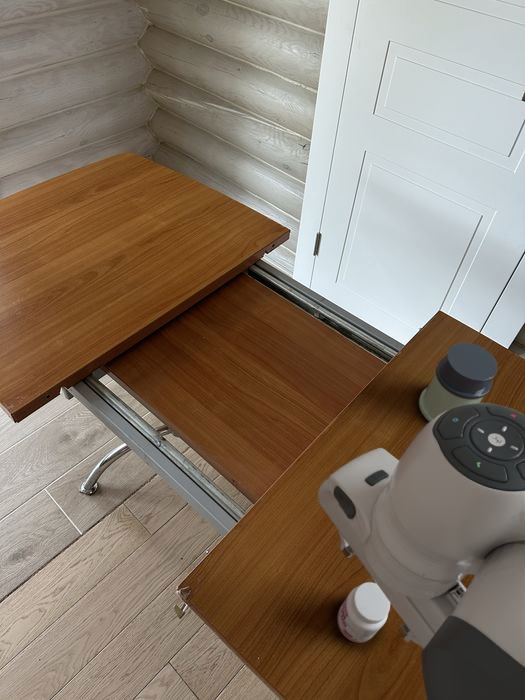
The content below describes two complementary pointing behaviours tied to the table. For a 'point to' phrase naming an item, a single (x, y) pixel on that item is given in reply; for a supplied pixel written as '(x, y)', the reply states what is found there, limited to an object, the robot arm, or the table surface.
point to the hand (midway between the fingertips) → (376, 589)
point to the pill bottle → (363, 612)
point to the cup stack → (458, 379)
